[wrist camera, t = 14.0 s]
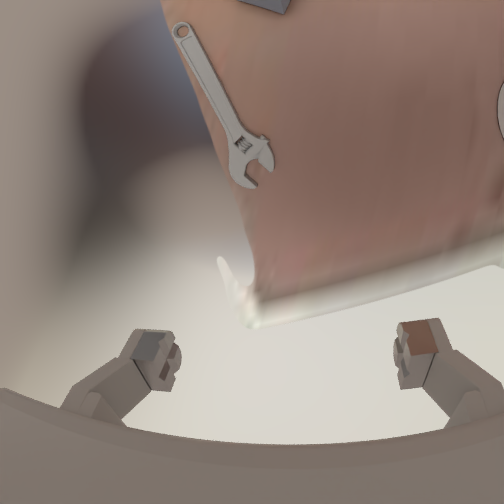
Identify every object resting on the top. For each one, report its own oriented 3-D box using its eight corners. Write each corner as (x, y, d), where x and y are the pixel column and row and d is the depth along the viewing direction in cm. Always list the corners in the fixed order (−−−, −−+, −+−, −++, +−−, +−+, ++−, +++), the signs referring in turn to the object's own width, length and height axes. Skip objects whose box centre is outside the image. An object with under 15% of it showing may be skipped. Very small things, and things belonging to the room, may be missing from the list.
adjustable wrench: (172, 29, 34) (167, 28, 32) (215, 9, 32) (211, 6, 31) (239, 188, 45) (237, 192, 43) (283, 174, 43) (282, 178, 41)
